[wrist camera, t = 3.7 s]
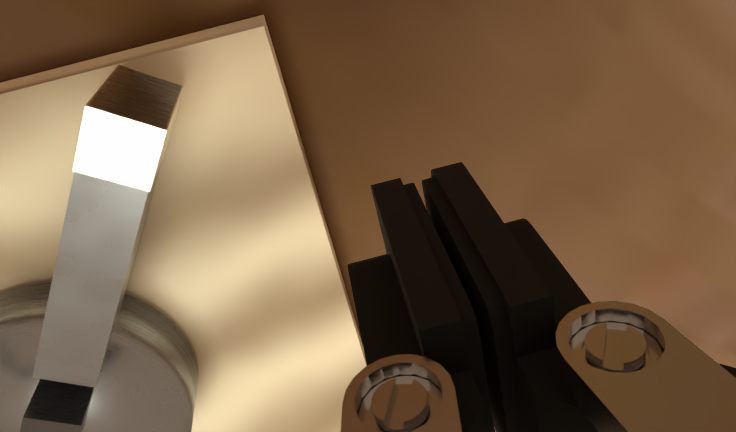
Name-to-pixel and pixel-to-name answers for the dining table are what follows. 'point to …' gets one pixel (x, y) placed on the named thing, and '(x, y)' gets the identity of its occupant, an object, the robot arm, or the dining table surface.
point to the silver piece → (101, 288)
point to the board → (203, 226)
